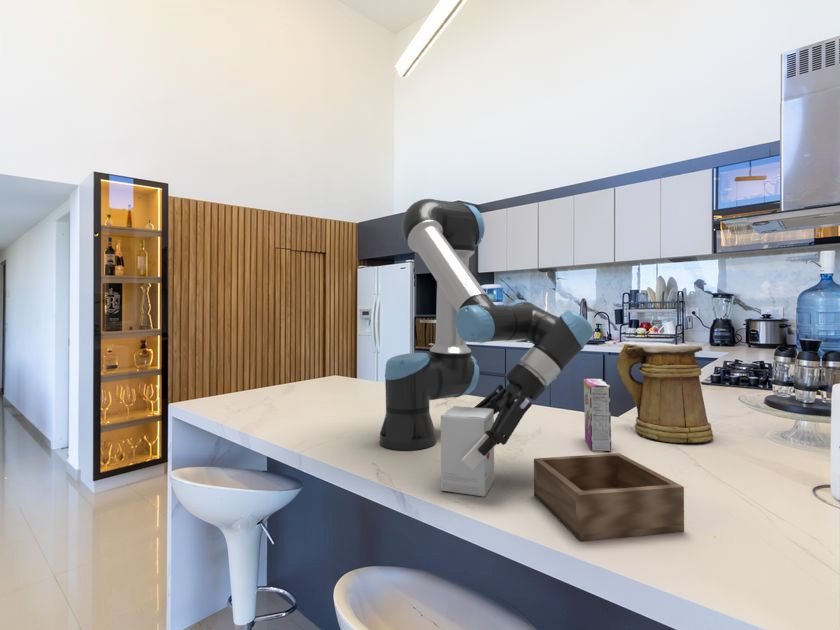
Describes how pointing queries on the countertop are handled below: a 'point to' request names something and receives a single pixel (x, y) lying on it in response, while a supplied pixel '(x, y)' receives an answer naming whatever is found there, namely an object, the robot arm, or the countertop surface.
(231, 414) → the countertop surface
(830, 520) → the countertop surface
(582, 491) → the crate
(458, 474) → the supplement box
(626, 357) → the tankard
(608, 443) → the candy bar box
